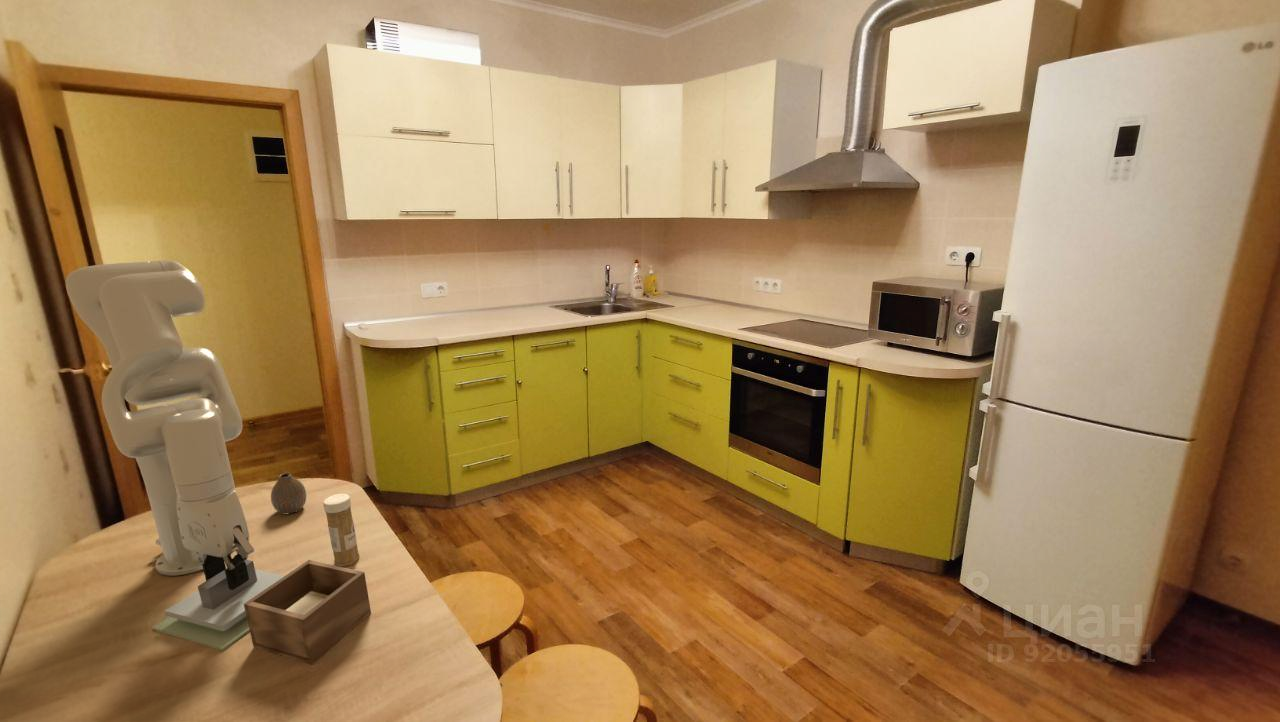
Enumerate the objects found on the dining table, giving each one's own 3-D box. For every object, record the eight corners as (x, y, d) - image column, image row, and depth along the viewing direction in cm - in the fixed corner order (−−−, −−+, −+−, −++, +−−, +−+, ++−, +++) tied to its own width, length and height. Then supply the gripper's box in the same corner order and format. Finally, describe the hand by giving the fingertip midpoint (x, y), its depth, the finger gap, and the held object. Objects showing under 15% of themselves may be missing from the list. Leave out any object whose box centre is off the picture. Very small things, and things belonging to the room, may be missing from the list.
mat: (152, 629, 96) (152, 627, 96) (243, 572, 111) (243, 570, 110) (222, 650, 91) (222, 648, 91) (308, 588, 106) (308, 586, 105)
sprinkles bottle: (361, 562, 113) (351, 499, 110) (335, 570, 111) (324, 506, 107) (357, 551, 117) (347, 490, 113) (332, 558, 114) (321, 497, 111)
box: (253, 647, 92) (243, 603, 89) (316, 599, 102) (308, 559, 100) (312, 664, 88) (303, 619, 86) (371, 613, 99) (364, 572, 97)
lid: (168, 623, 97) (158, 589, 95) (240, 577, 109) (233, 546, 107) (225, 639, 93) (217, 604, 91) (294, 589, 105) (288, 557, 103)
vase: (266, 516, 131) (259, 481, 128) (289, 501, 137) (282, 467, 135) (293, 518, 130) (286, 483, 127) (315, 503, 136) (309, 469, 134)
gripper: (144, 488, 94) (170, 586, 99) (220, 503, 89) (243, 605, 93) (192, 469, 101) (214, 561, 105) (265, 481, 95) (284, 578, 100)
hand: (228, 581), depth 99 cm, fingers open, 4 cm apart
